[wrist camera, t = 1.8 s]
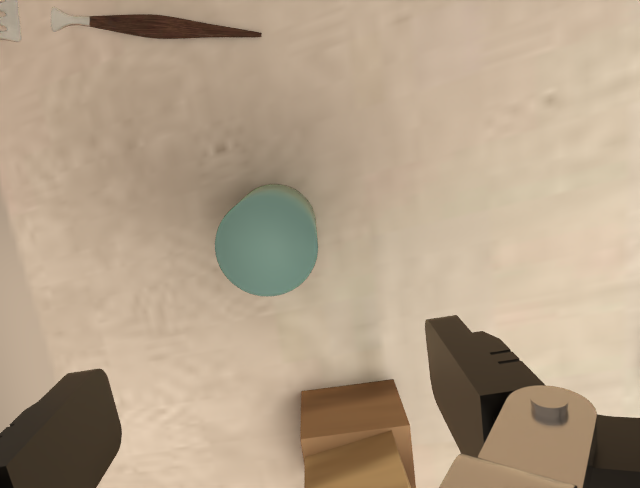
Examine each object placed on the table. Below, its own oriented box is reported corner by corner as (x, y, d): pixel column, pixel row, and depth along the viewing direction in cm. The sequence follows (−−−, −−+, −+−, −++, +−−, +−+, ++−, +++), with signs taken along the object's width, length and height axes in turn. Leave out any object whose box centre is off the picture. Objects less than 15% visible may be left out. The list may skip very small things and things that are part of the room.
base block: (301, 390, 30) (300, 439, 25) (393, 378, 30) (409, 425, 25) (313, 469, 31) (314, 530, 26) (401, 458, 31) (418, 517, 26)
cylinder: (228, 189, 27) (206, 203, 21) (310, 179, 27) (310, 189, 21) (242, 268, 28) (224, 302, 22) (320, 258, 28) (323, 289, 22)
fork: (261, 62, 26) (257, 55, 24) (-33, 39, 25) (-62, 30, 23) (263, 11, 25) (259, 0, 23) (-37, -13, 24) (-67, -27, 23)
